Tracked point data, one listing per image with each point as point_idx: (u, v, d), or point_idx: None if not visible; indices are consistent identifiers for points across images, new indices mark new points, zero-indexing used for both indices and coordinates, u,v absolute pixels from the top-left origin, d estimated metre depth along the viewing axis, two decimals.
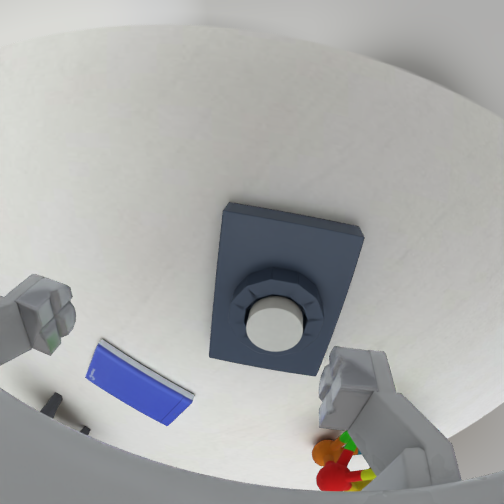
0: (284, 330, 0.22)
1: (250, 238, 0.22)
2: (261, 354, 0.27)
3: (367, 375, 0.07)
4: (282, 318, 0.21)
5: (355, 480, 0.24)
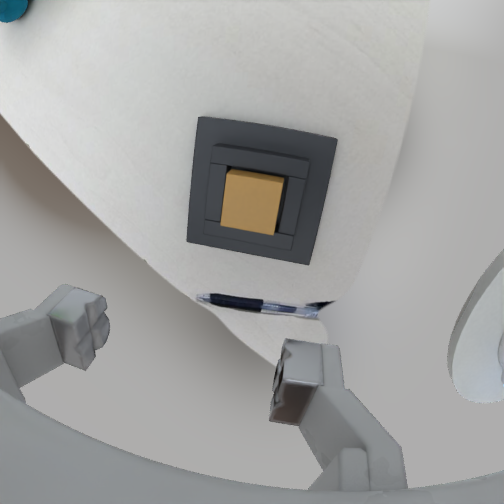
0: None
1: None
2: None
3: (314, 369, 0.07)
4: None
5: None
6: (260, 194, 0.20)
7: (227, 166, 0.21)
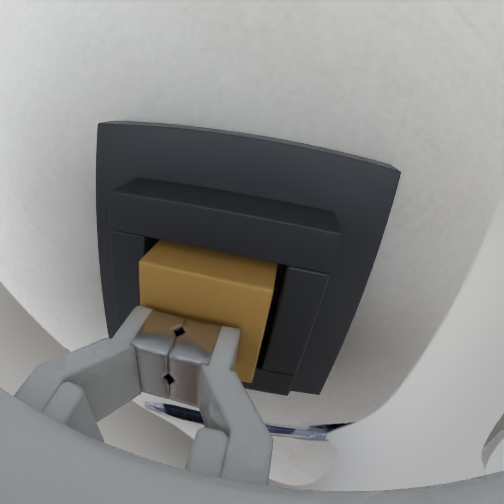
0: None
1: None
2: None
3: (203, 348, 0.07)
4: None
5: None
6: (218, 311, 0.08)
7: (146, 237, 0.09)
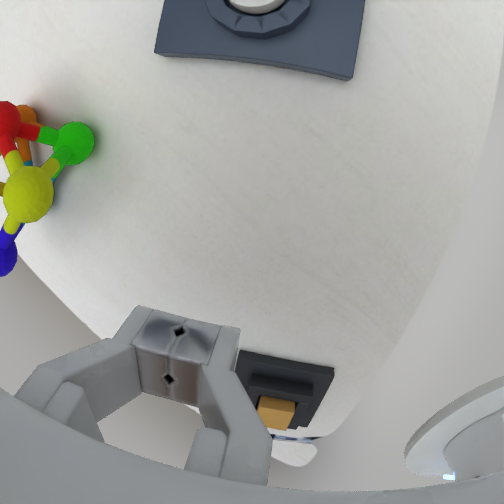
0: None
1: None
2: None
3: (203, 348, 0.07)
4: None
5: (3, 148, 0.16)
6: (279, 416, 0.29)
7: None
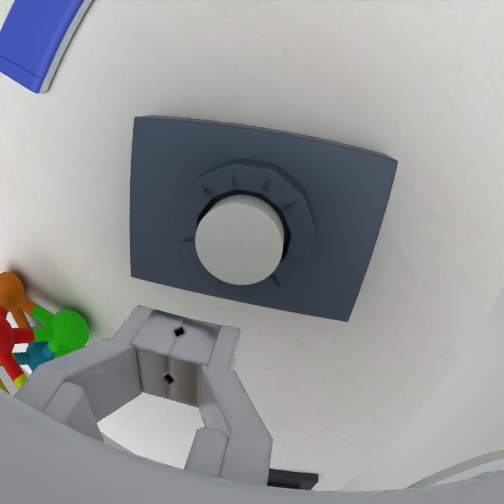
0: (240, 261, 0.15)
1: (358, 193, 0.15)
2: (156, 201, 0.17)
3: (203, 348, 0.07)
4: (263, 258, 0.14)
5: (8, 371, 0.17)
6: None
7: None
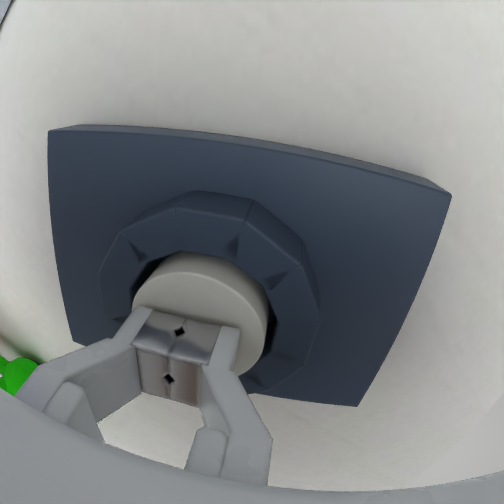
0: None
1: (389, 246, 0.09)
2: (84, 252, 0.11)
3: (203, 348, 0.07)
4: None
5: None
6: None
7: None
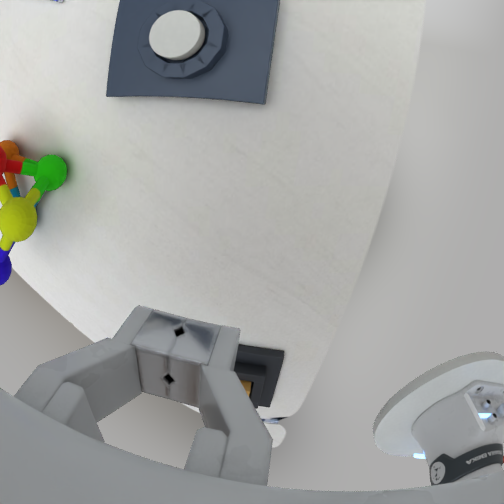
0: (175, 41, 0.19)
1: (255, 12, 0.20)
2: (129, 38, 0.21)
3: (203, 348, 0.07)
4: (189, 37, 0.18)
5: None
6: None
7: None
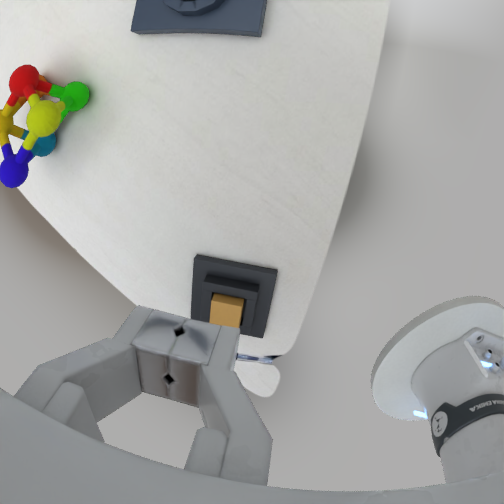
0: None
1: None
2: None
3: (203, 348, 0.07)
4: None
5: (27, 92, 0.23)
6: (230, 311, 0.36)
7: (212, 291, 0.37)
